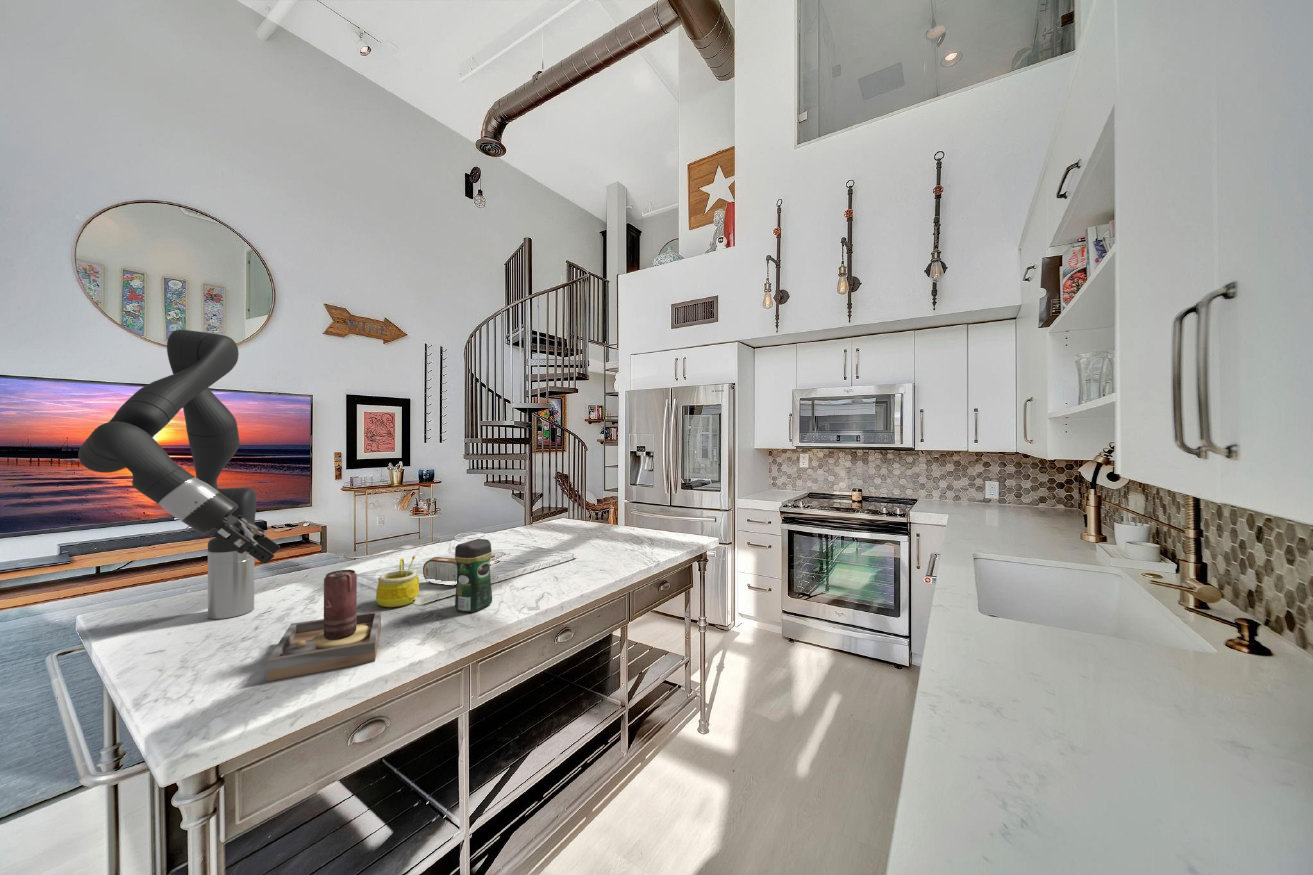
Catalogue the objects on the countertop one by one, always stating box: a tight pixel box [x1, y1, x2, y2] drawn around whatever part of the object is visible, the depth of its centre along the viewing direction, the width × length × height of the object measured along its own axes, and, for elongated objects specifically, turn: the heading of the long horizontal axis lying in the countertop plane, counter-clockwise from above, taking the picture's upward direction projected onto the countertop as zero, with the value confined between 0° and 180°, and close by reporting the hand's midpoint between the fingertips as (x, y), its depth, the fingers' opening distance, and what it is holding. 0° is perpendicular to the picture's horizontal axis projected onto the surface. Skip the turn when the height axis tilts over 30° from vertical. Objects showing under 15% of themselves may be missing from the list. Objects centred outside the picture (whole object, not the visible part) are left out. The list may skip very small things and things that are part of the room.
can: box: [323, 569, 358, 640], centre depth 106 cm, size 6×6×14 cm
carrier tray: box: [266, 610, 382, 682], centre depth 104 cm, size 20×18×5 cm
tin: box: [422, 556, 457, 582], centre depth 150 cm, size 15×3×8 cm, turn 77°
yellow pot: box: [375, 555, 420, 608], centre depth 135 cm, size 13×11×12 cm
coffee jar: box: [454, 538, 493, 613], centre depth 131 cm, size 10×8×19 cm
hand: (273, 555), depth 99 cm, fingers open, 8 cm apart
